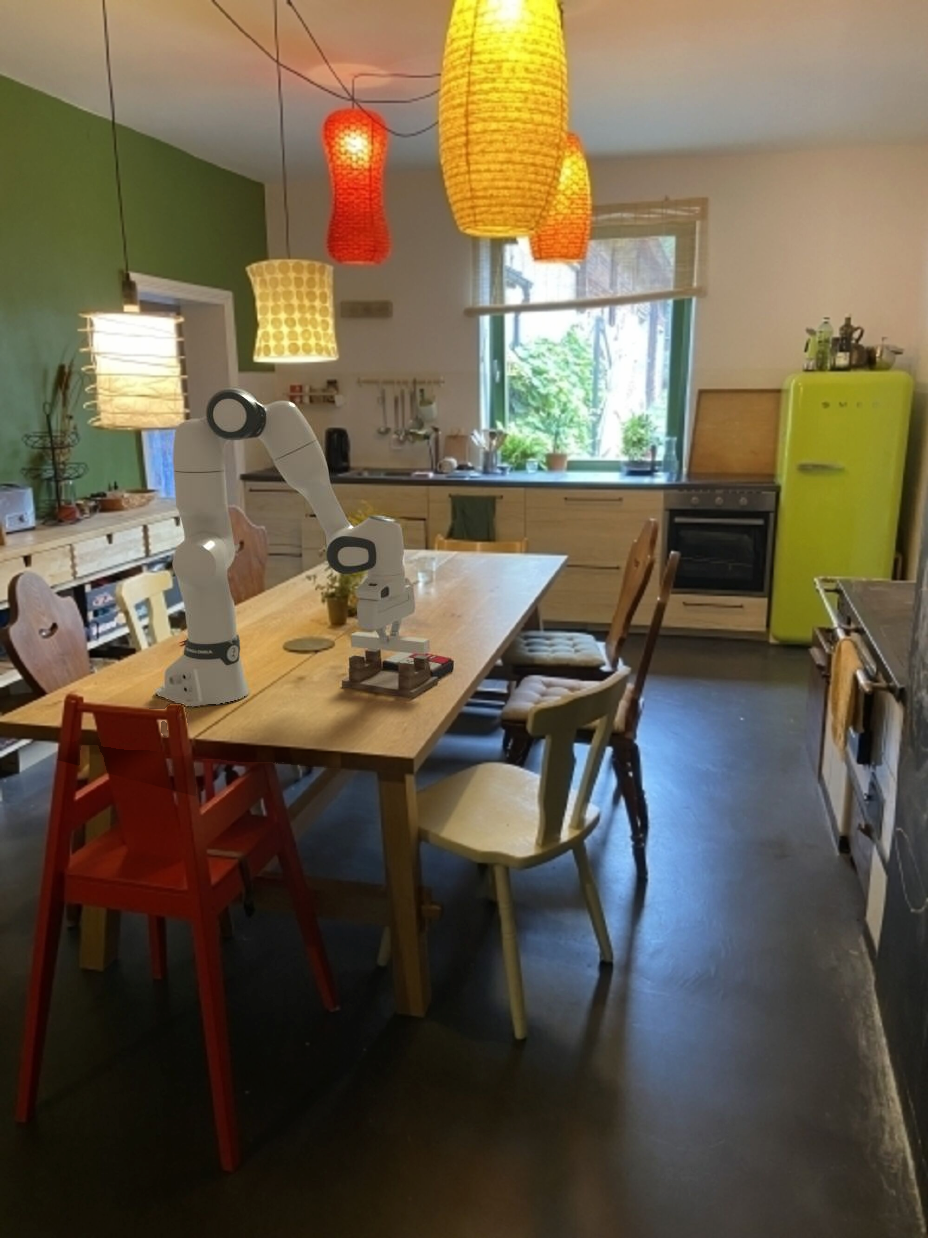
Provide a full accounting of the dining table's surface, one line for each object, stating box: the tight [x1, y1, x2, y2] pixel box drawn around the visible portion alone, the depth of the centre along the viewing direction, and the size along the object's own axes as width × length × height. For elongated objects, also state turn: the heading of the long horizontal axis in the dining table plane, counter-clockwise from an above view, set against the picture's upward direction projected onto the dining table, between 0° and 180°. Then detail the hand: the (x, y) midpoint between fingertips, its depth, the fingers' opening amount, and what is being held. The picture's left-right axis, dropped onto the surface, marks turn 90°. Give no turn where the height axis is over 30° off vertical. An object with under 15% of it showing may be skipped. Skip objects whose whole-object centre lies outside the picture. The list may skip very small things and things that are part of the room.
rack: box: [341, 648, 439, 699], centre depth 214 cm, size 20×12×7 cm, turn 62°
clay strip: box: [350, 631, 431, 654], centre depth 212 cm, size 20×3×3 cm, turn 65°
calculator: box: [382, 652, 455, 680], centre depth 224 cm, size 11×4×15 cm
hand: (389, 640), depth 212 cm, fingers closed on clay strip, 3 cm apart
